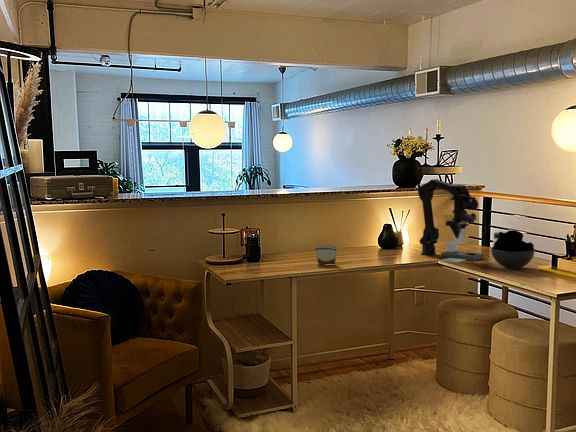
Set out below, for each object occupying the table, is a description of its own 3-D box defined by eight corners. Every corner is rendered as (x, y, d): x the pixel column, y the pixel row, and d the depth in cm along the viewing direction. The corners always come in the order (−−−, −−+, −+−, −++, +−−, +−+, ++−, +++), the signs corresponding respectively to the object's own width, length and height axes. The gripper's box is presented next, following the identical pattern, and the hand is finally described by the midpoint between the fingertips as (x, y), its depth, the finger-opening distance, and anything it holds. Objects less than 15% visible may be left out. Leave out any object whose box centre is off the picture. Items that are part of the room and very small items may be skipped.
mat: (441, 260, 305) (441, 259, 305) (449, 258, 310) (449, 257, 310) (458, 262, 298) (458, 262, 298) (466, 260, 303) (466, 259, 303)
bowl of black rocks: (530, 264, 287) (530, 228, 285) (538, 273, 267) (538, 233, 265) (488, 264, 291) (488, 228, 289) (493, 272, 272) (493, 233, 270)
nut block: (453, 243, 304) (453, 228, 303) (457, 242, 307) (457, 227, 306) (461, 244, 301) (461, 229, 300) (465, 243, 304) (465, 228, 303)
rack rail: (440, 257, 315) (440, 252, 315) (450, 254, 322) (450, 250, 322) (473, 261, 301) (473, 256, 300) (483, 258, 307) (483, 253, 307)
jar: (502, 256, 312) (503, 234, 310) (490, 254, 318) (490, 233, 317) (512, 254, 317) (513, 233, 315) (500, 252, 323) (500, 231, 322)
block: (446, 256, 316) (446, 242, 315) (450, 255, 319) (450, 241, 318) (453, 257, 313) (453, 243, 312) (457, 256, 316) (457, 242, 315)
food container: (340, 263, 306) (339, 245, 305) (337, 265, 300) (337, 247, 299) (318, 262, 310) (318, 244, 309) (315, 265, 304) (314, 246, 303)
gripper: (464, 211, 290) (464, 241, 291) (481, 208, 303) (481, 236, 304) (445, 210, 298) (445, 239, 299) (462, 206, 311) (462, 234, 312)
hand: (459, 237), depth 304 cm, fingers closed on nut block, 4 cm apart
